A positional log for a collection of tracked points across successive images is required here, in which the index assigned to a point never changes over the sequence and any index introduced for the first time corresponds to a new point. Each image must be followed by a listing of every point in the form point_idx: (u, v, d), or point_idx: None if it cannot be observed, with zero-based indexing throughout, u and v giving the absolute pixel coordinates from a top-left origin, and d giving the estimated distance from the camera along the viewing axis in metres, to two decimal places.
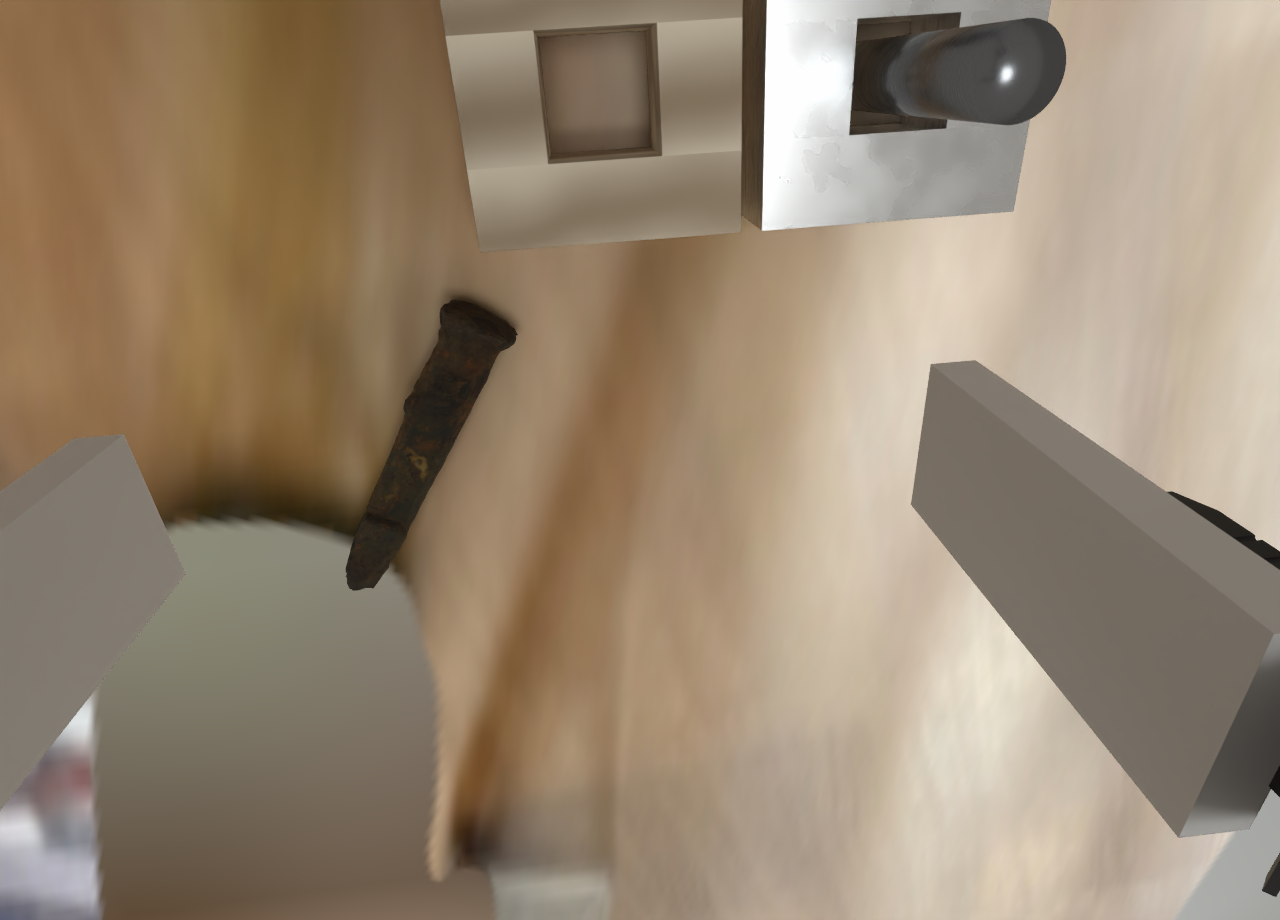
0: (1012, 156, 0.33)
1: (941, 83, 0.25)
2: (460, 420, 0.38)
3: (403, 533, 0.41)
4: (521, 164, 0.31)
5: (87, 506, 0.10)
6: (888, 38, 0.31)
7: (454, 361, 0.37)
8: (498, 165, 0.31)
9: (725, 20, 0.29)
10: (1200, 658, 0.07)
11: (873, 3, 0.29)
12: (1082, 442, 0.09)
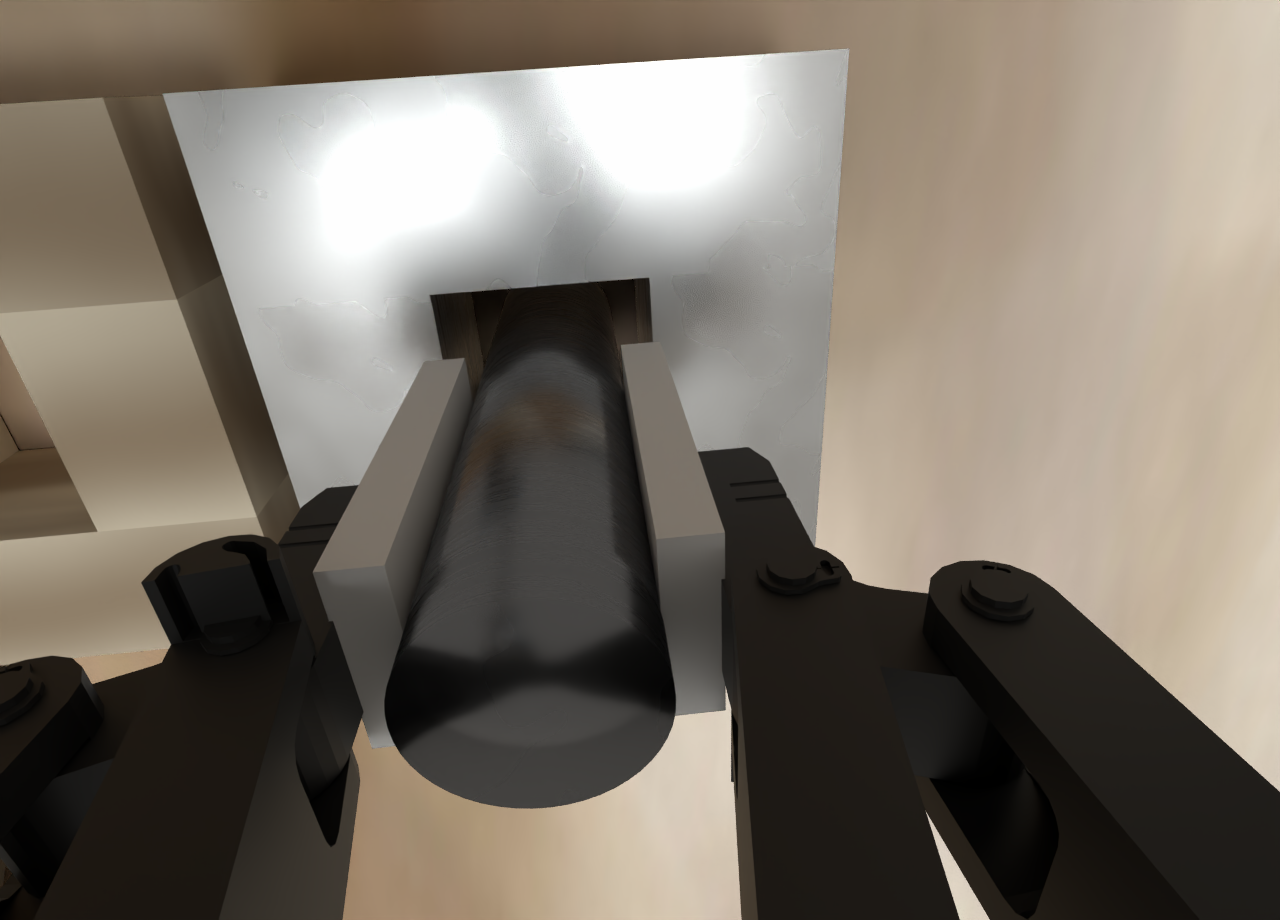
0: (797, 505, 0.17)
1: None
2: None
3: None
4: None
5: (459, 411, 0.12)
6: (527, 311, 0.16)
7: None
8: None
9: (141, 306, 0.14)
10: (656, 567, 0.09)
11: (458, 267, 0.14)
12: (672, 405, 0.11)
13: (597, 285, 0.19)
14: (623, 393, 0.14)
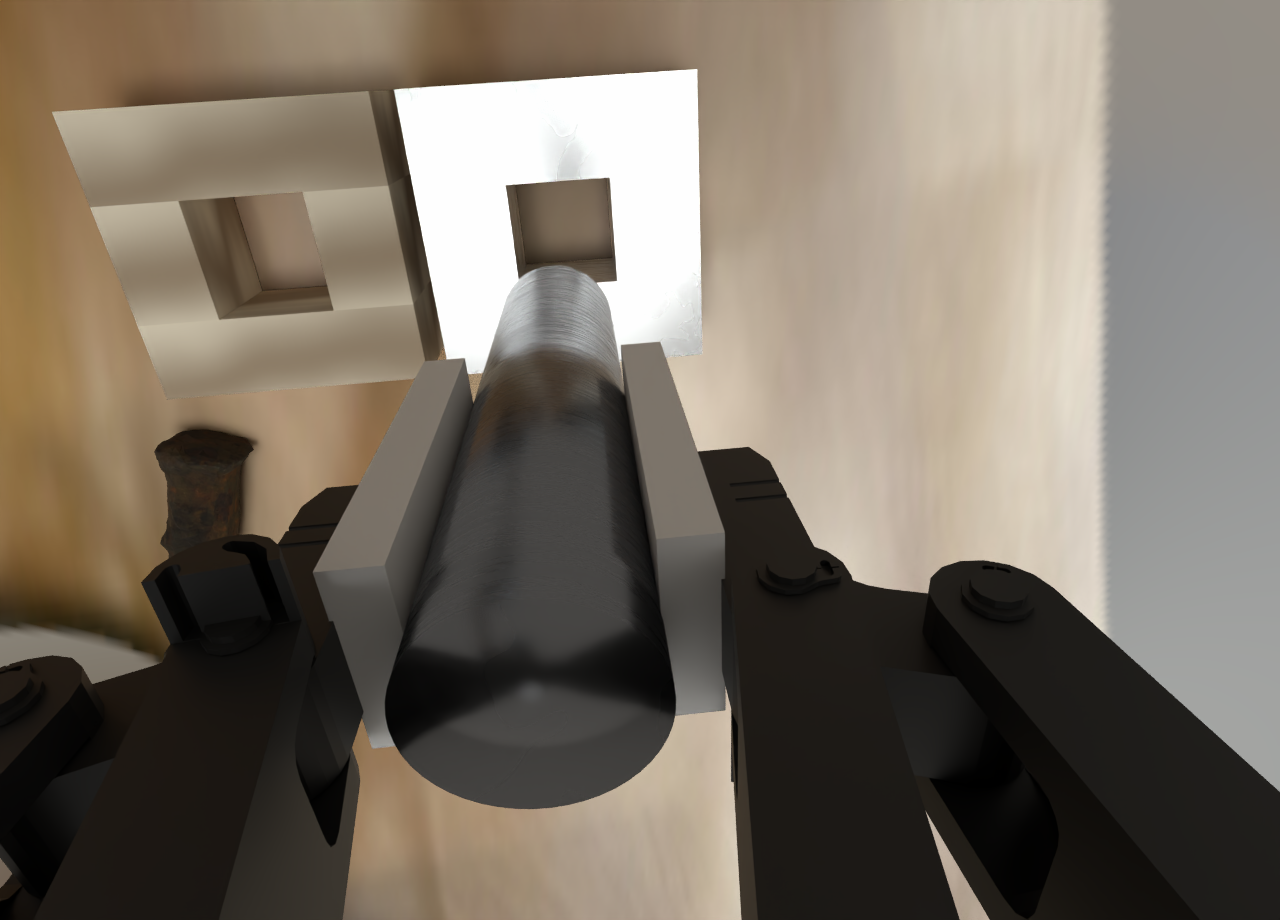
0: (690, 305, 0.33)
1: None
2: None
3: None
4: (192, 320, 0.32)
5: (460, 411, 0.12)
6: (527, 311, 0.16)
7: (183, 493, 0.37)
8: (169, 322, 0.31)
9: (371, 188, 0.30)
10: (656, 567, 0.09)
11: (519, 171, 0.30)
12: (672, 405, 0.11)
13: (597, 285, 0.19)
14: (623, 393, 0.14)
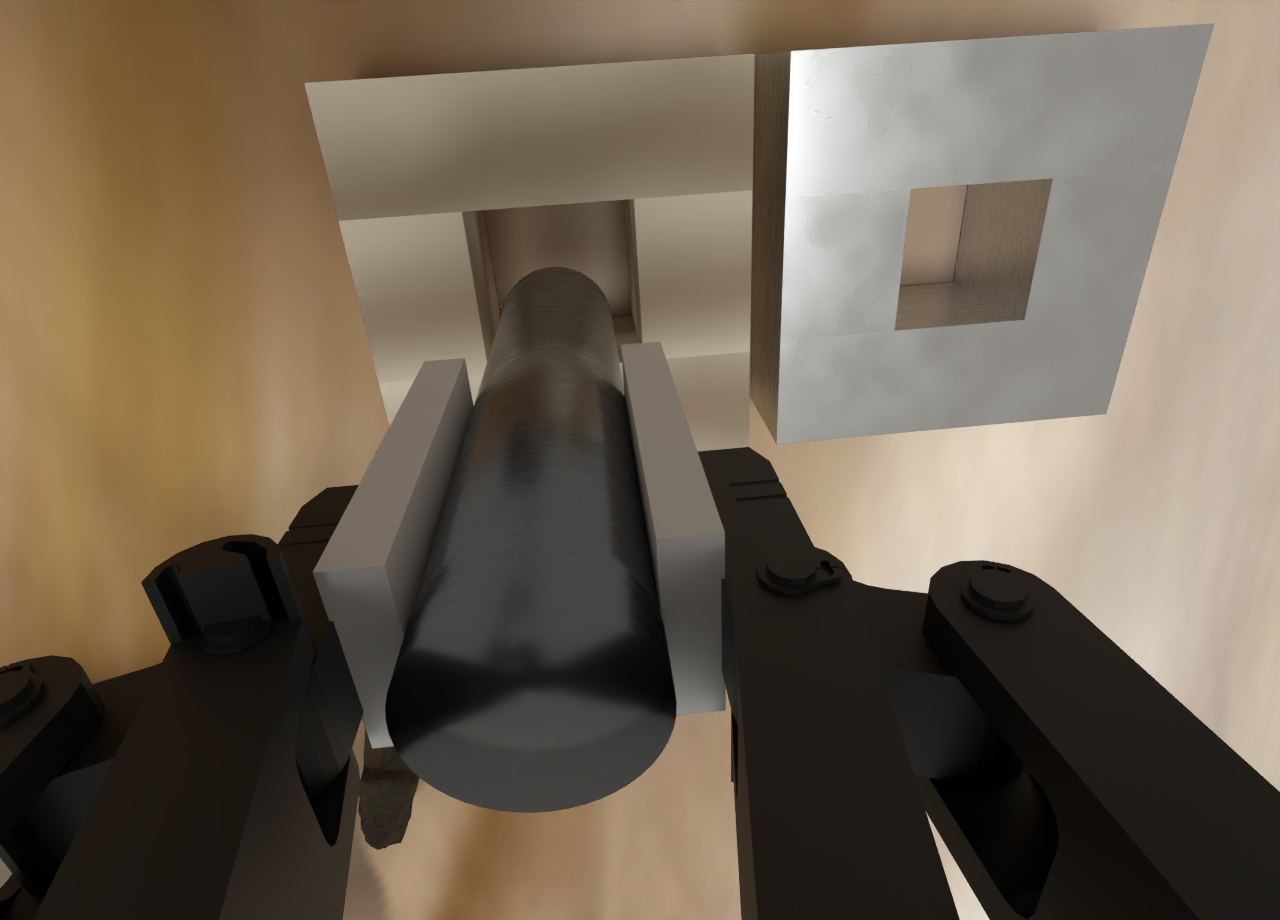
0: (1109, 350, 0.24)
1: None
2: None
3: (411, 780, 0.33)
4: None
5: (460, 412, 0.12)
6: (527, 313, 0.16)
7: None
8: None
9: (729, 194, 0.21)
10: (655, 567, 0.09)
11: (933, 170, 0.21)
12: (672, 405, 0.11)
13: (597, 287, 0.19)
14: (623, 396, 0.14)
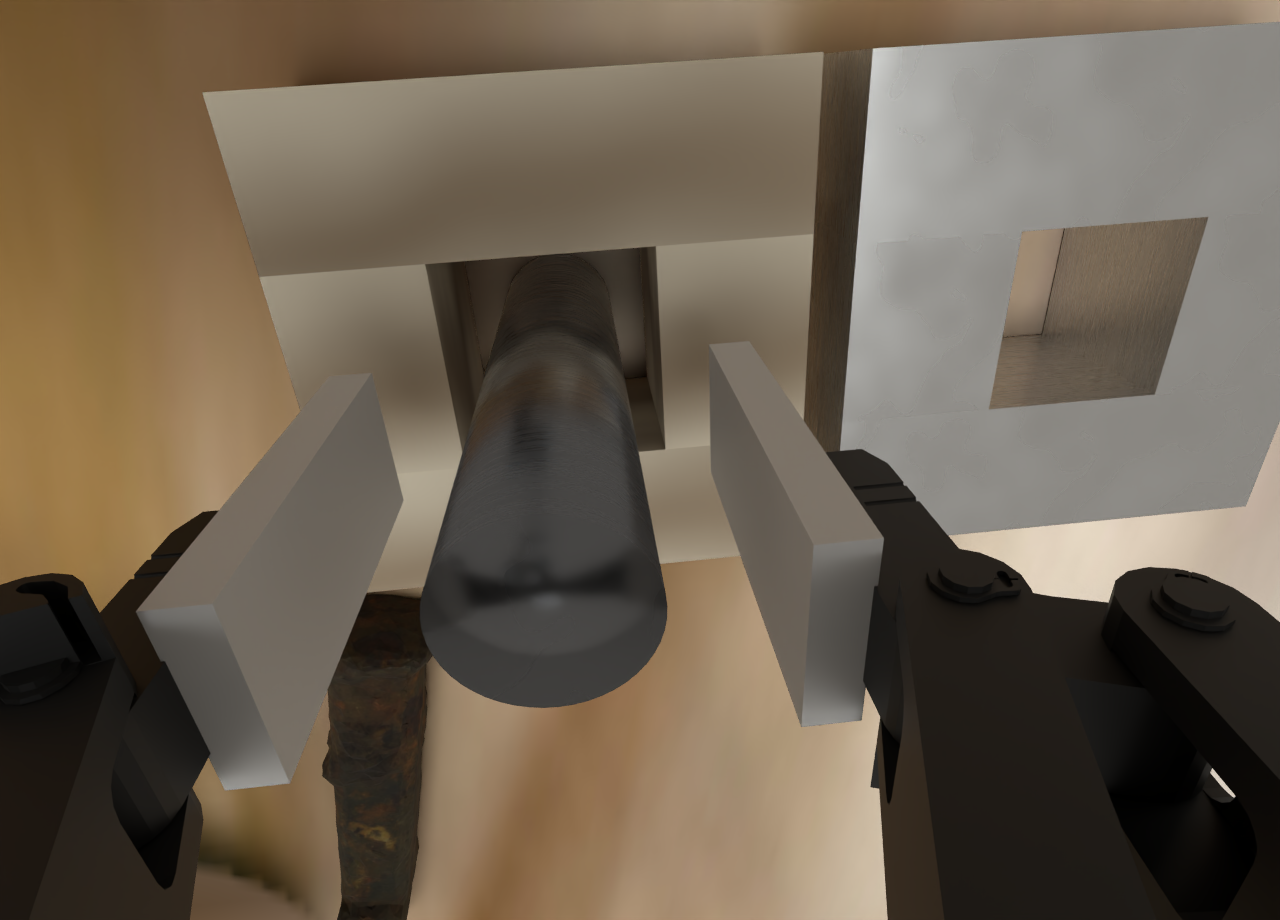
0: (1258, 431, 0.19)
1: None
2: (406, 768, 0.25)
3: (398, 916, 0.28)
4: (418, 469, 0.18)
5: (359, 429, 0.12)
6: (532, 293, 0.17)
7: (356, 709, 0.24)
8: None
9: (782, 239, 0.16)
10: (798, 573, 0.08)
11: (1053, 207, 0.16)
12: (784, 406, 0.11)
13: (596, 272, 0.21)
14: (621, 366, 0.15)
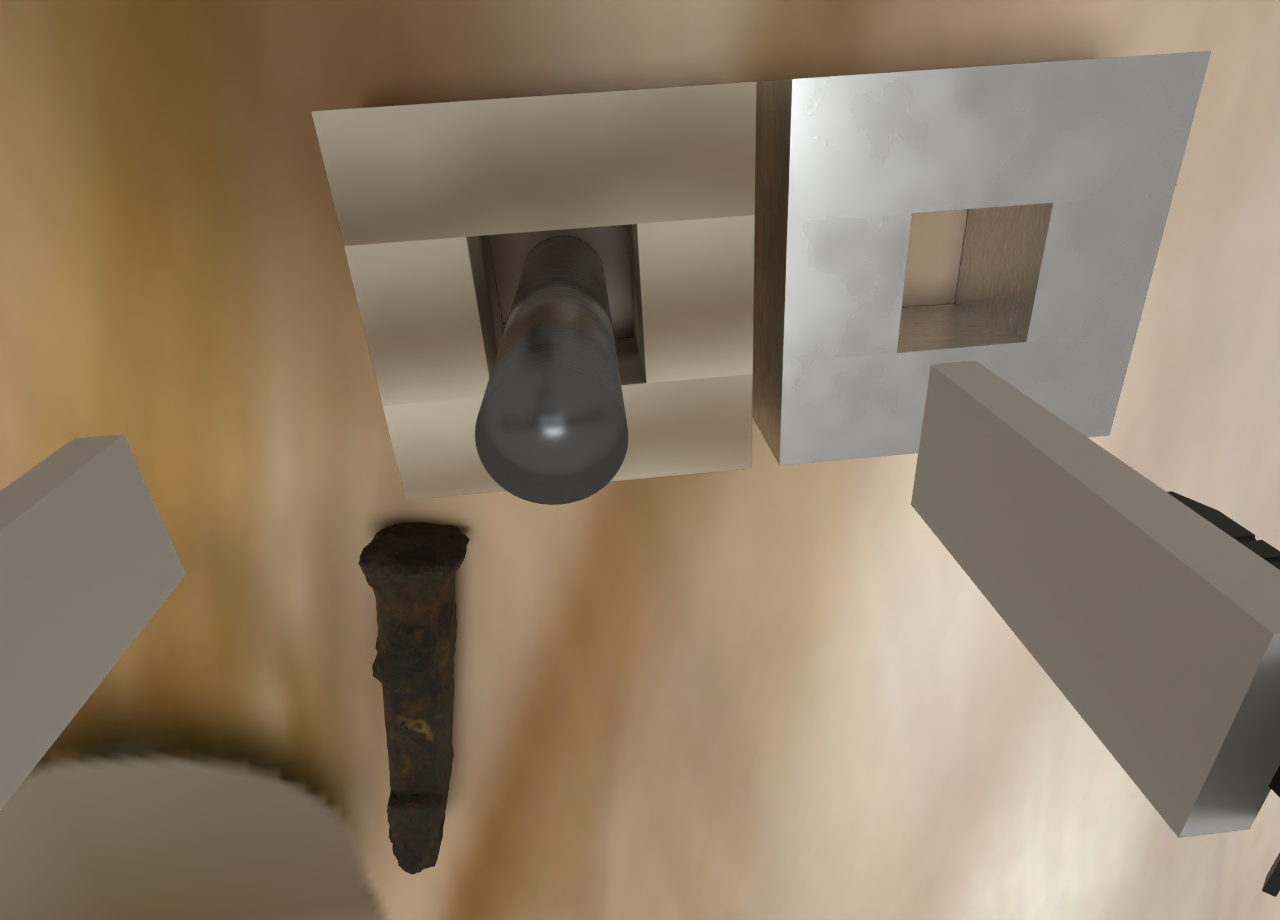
0: (1112, 372, 0.25)
1: None
2: (441, 666, 0.30)
3: (438, 802, 0.33)
4: (456, 397, 0.23)
5: (87, 506, 0.10)
6: (543, 261, 0.22)
7: (399, 611, 0.29)
8: (425, 399, 0.23)
9: (731, 219, 0.21)
10: (1200, 658, 0.07)
11: (934, 194, 0.21)
12: (1082, 442, 0.09)
13: (593, 251, 0.26)
14: (609, 311, 0.20)
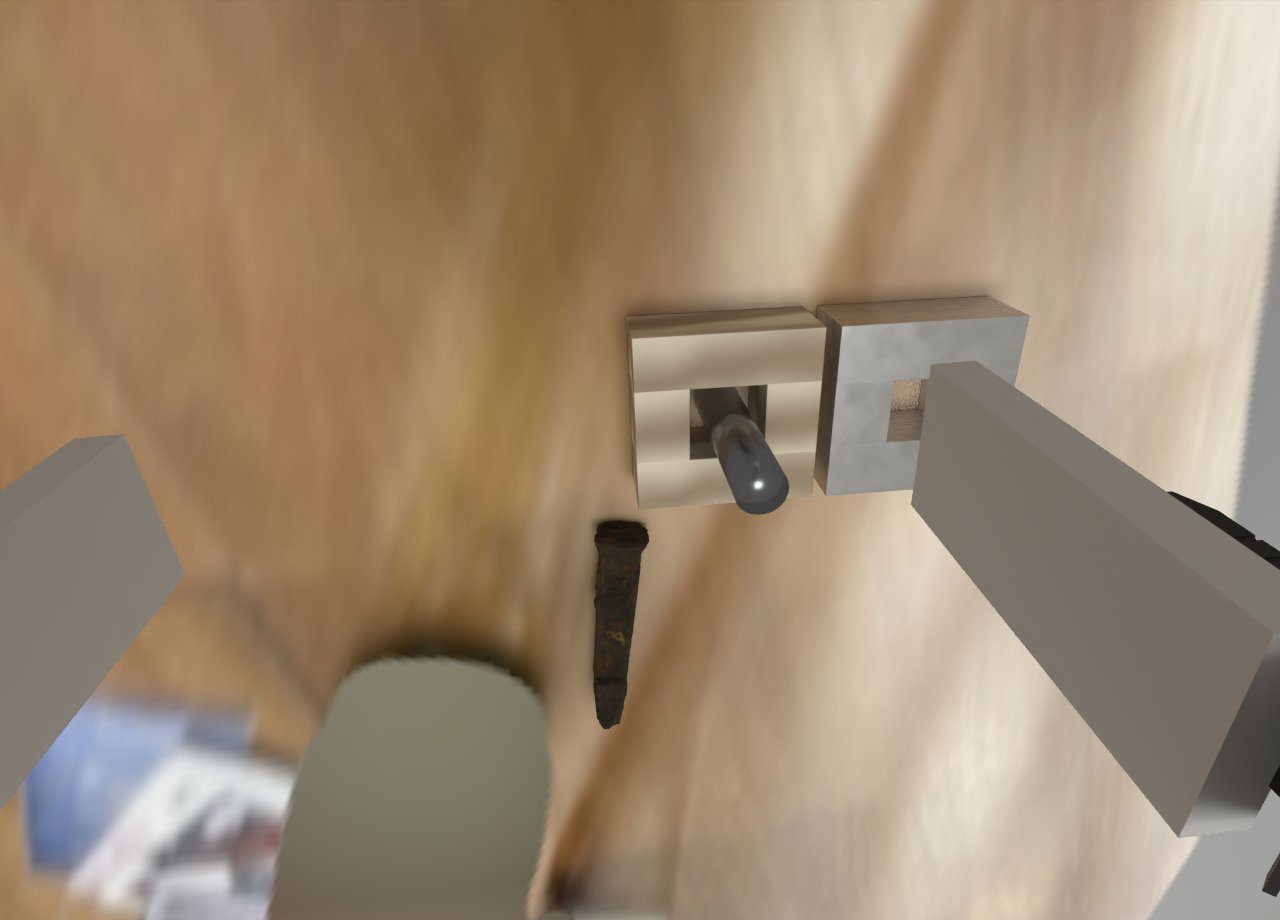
0: None
1: (726, 476, 0.40)
2: (633, 601, 0.55)
3: (625, 683, 0.57)
4: (672, 460, 0.47)
5: (87, 506, 0.10)
6: (719, 397, 0.47)
7: (616, 569, 0.53)
8: (657, 461, 0.47)
9: (810, 382, 0.46)
10: (1200, 658, 0.07)
11: (905, 373, 0.46)
12: (1082, 442, 0.09)
13: None
14: None
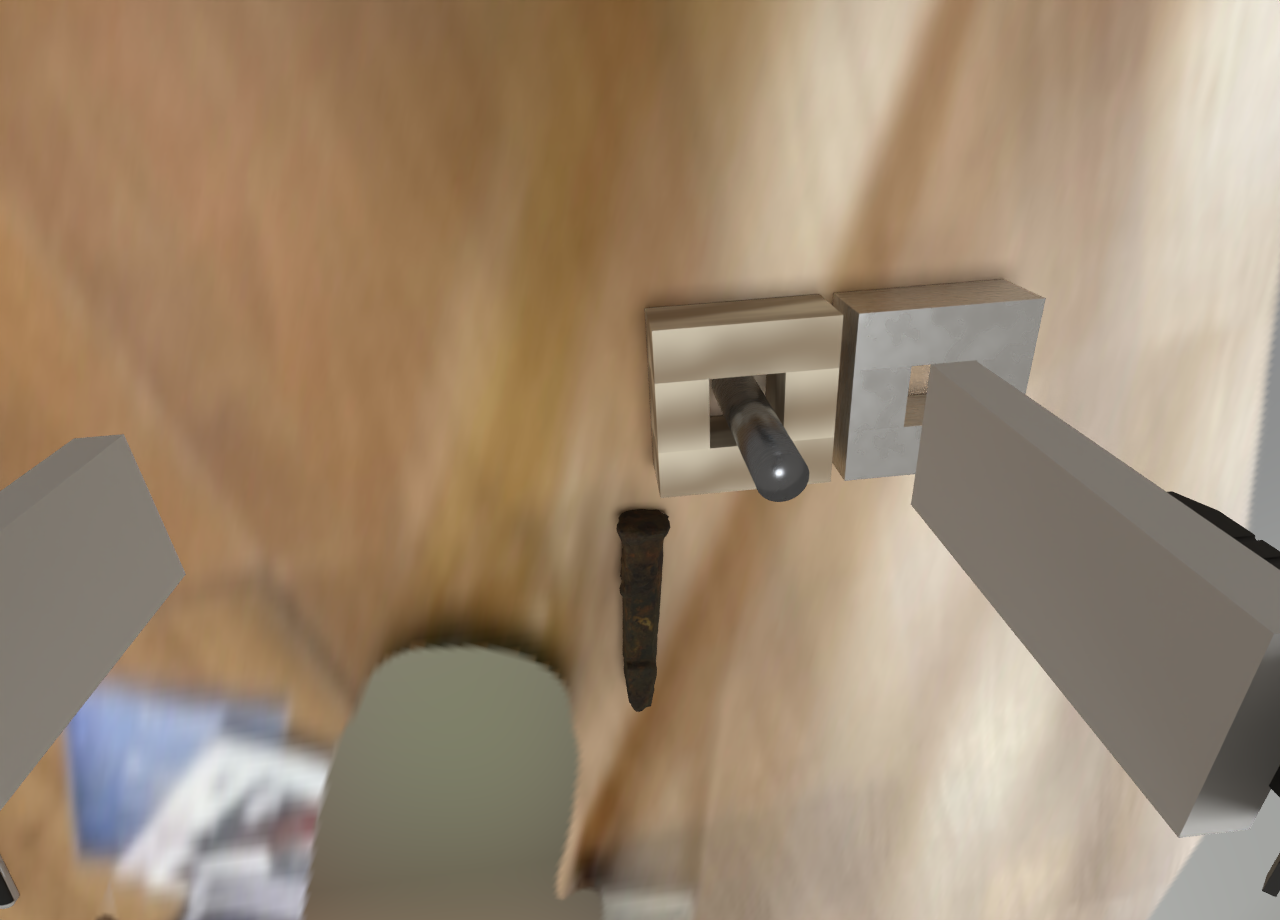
0: None
1: (747, 465, 0.41)
2: (658, 586, 0.56)
3: (654, 666, 0.59)
4: (693, 449, 0.48)
5: (87, 506, 0.10)
6: (738, 386, 0.47)
7: (639, 557, 0.54)
8: (678, 450, 0.48)
9: (828, 369, 0.46)
10: (1200, 657, 0.07)
11: (922, 358, 0.46)
12: (1082, 442, 0.09)
13: None
14: None
